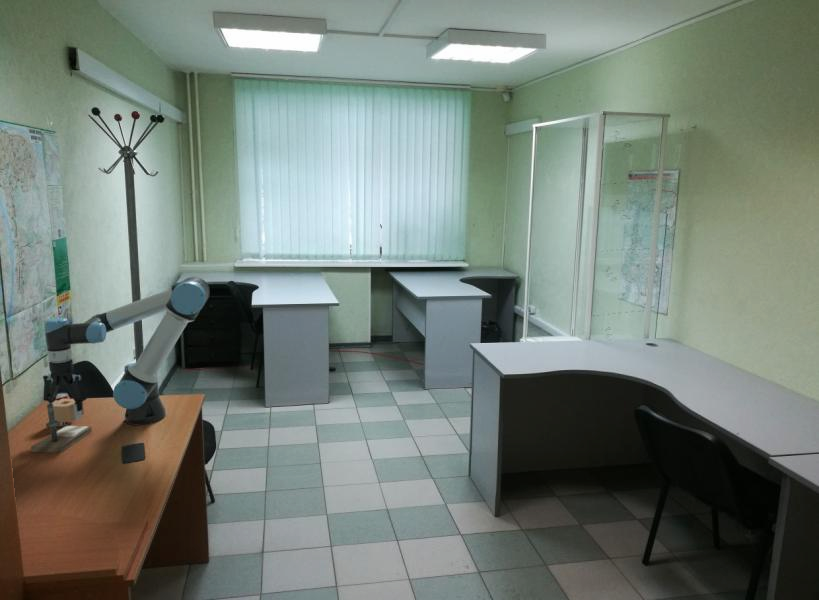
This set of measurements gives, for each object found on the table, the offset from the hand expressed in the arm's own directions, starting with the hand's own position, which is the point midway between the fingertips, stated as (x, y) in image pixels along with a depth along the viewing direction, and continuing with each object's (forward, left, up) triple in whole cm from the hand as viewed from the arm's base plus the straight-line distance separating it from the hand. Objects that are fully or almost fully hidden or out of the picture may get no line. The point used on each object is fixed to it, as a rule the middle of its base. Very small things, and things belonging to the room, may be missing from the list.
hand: (67, 418), depth 223 cm
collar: (0, 0, 0) cm, 0 cm away
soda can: (+11, -12, -7) cm, 17 cm away
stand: (0, +4, -7) cm, 8 cm away
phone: (-32, +12, -8) cm, 36 cm away
